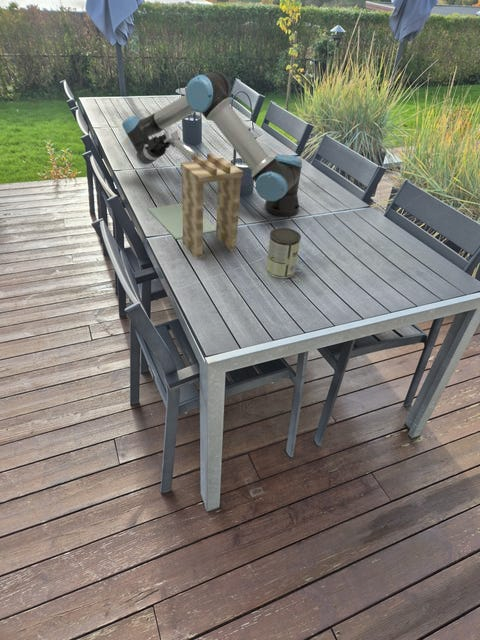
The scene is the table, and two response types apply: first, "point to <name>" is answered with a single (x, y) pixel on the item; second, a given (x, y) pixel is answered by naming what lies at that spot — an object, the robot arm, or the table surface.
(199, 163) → the oak bridge
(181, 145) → the steel rod
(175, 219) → the sage mat
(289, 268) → the coffee can
